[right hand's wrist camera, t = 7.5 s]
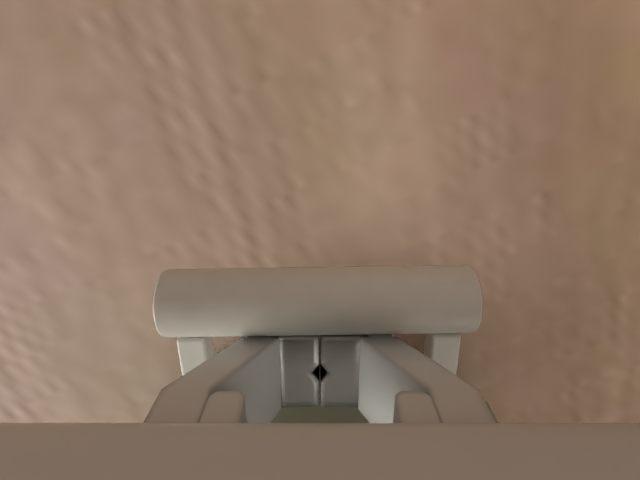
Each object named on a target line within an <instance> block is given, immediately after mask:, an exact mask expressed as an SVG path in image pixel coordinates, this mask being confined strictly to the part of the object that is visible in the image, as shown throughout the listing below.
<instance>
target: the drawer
mask: <svg viewBox="0 0 640 480" xmlns="http://www.w3.org/2000/svg"><path fill="white" fill-rule="evenodd" d="M482 313H483V296H482V289H481V284H480V281H479V278H478V275H477V273H476V271H475V270H474V269H473V268H472V267H471V266H469V265H427V266H363V267H298V268H234V269H170V270H166V271H164V272H163V273H161V275H160V276H159V278H158V280H157V283H156V286H155V290H154V296H153V318H154V323H155V327H156V329H157V331H158V333H159V334H160V335H161V336H163V337H178V338H177V347H178V353H179V359H180V365H181V371H182V376H183V375H184V374H186V373H188V372H189V371H191V370H192V369H194V368H195V367H197V366H198V365H200V364H201V363H203V362H205V361H206V360H208V359H209V358H211V357H212V356H214V355H215V352H214V344H213V337H227V336H296V335H365V334H425V340H424V352H423V354H424V355H426V356H427V357H429V358H430V359H432V360H433V361H435V362H437V363H438V364H440V365H441V366H443V367H444V368H446V369H447V370H449V371H450V372H452V373H453V374H455V375H457V366H458V358H459V350H460V342H461V335H460V333H473V332H475V331H476V330H477V329H478V328H479V326H480V323H481V319H482ZM485 403H486V405H487V407H488V408H489V410H490V412H491V414H492V416H493V418H494V420H495V422H496V423H498V422H497V420H496V418H495V416H494V414H493V412H492V410H491V409H490V407H489V405H488V403H487V402H486V401H485ZM271 423H369V422H368V421H367V419H366V418H365V417H364V416H363V414H362V413H361V412H360V411H359V410H358V407H325V406H321V403H319V406H314V407H282V410H281V411H280V412H279V413H278V414H277V416H276V417H275V418H274V419H273V421H272V422H271Z"/></svg>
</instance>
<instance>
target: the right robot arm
mask: <svg viewBox="0 0 640 480" xmlns="http://www.w3.org/2000/svg"><path fill="white" fill-rule="evenodd" d="M320 374H321V406H325V407H358V410H359V411H360V412H361V413H362V414H363V416H364V417H365V418H366V419H367V421H368V422H369V423H271V422H272V421H273V419H274V418H275V417H276V416H277V414H278V413H279V412H280V411H281V410H282V407H314V406H319V335H296V336H248V337H243V338H240V339H238V340H237V341H235V342H234V343H232V344H231V345H229V346H228V347H226V348H225V349H223V350H221V351H220V352H218V353H217V354H215V355H214V356H212V357H211V358H209V359H208V360H206V361H205V362H203V363H201V364H200V365H198V366H197V367H195V368H194V369H192V370H191V371H189V372H188V373H186V374H184V375H183V376H181V377H180V378H178V379H177V380H175V381H174V382H172V383H171V384H169V385H167V386H166V387H164V388H163V389H161V391H160V393H159V395H158V397H157V399H156V400H155V402H154V404H153V406H152V408H151V410H150V412H149V414H148V415H147V417H146V419H145V421H144V423H0V480H640V423H496V422H495V420H494V418H493V416H492V414H491V412H490V410H489V408H488V407H487V405H486V403H485V401H484V399H483V397H482V395H481V393H480V391H479V390H478V389H476V388H475V387H473V386H472V385H470V384H469V383H467V382H466V381H464V380H463V379H461V378H460V377H458V376H457V375H455V374H453V373H452V372H450V371H449V370H447V369H446V368H444V367H443V366H441V365H440V364H438V363H437V362H435V361H433V360H432V359H430V358H429V357H427V356H426V355H424V354H423V353H421V352H420V351H418V350H417V349H415V348H414V347H412V346H410V345H409V344H407V343H406V342H404V341H403V340H401V339H400V338H397V337H392V334H365V335H321V336H320Z"/></svg>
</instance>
